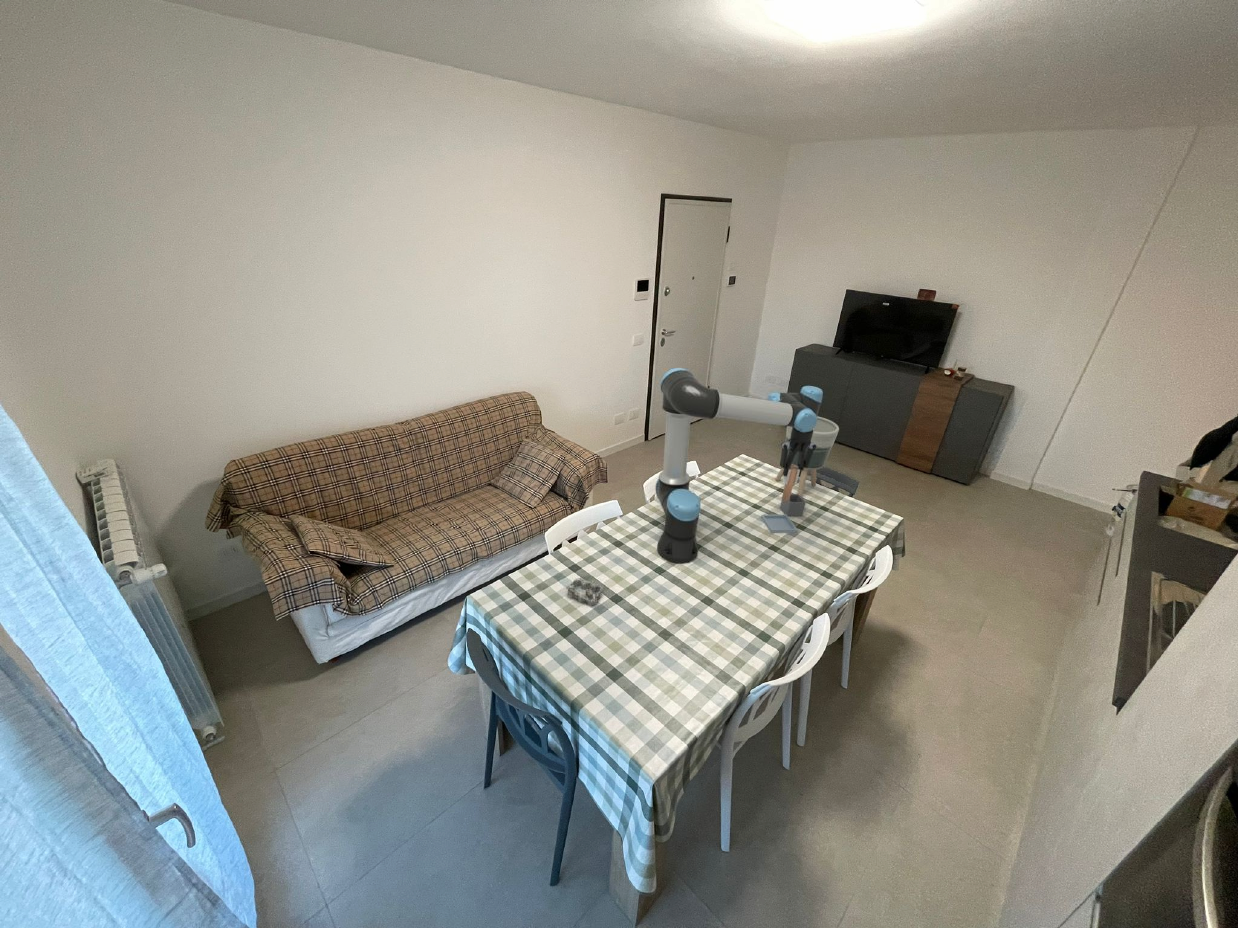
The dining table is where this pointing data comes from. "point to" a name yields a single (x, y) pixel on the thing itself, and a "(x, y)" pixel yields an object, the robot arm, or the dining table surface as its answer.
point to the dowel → (789, 484)
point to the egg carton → (589, 592)
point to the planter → (823, 440)
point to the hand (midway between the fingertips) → (789, 482)
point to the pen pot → (793, 506)
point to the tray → (779, 524)
